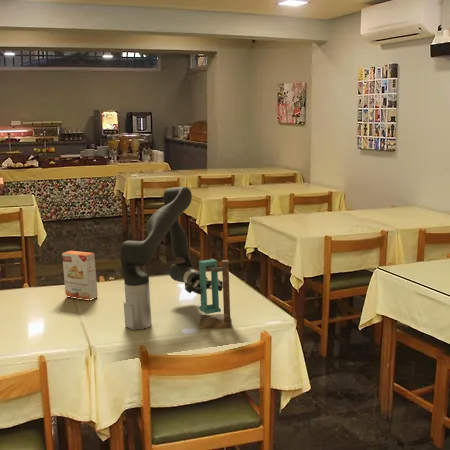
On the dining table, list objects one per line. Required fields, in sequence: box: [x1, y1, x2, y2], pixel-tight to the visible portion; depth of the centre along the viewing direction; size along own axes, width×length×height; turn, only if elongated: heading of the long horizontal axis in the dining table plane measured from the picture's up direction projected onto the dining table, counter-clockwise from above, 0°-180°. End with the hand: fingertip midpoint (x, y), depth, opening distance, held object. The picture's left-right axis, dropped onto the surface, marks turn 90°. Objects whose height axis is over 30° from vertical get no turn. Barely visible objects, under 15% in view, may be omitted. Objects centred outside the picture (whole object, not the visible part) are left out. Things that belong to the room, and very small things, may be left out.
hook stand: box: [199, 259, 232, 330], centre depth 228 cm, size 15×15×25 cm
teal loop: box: [198, 258, 222, 315], centre depth 229 cm, size 6×7×20 cm
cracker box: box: [61, 250, 99, 300], centre depth 267 cm, size 14×6×21 cm, turn 62°
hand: (210, 290), depth 228 cm, fingers open, 8 cm apart
